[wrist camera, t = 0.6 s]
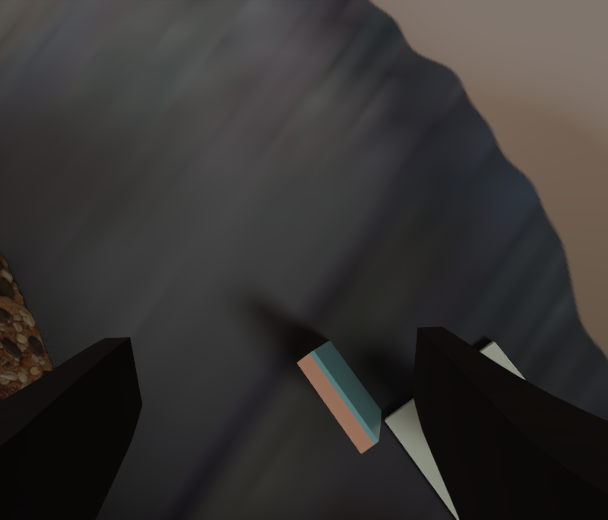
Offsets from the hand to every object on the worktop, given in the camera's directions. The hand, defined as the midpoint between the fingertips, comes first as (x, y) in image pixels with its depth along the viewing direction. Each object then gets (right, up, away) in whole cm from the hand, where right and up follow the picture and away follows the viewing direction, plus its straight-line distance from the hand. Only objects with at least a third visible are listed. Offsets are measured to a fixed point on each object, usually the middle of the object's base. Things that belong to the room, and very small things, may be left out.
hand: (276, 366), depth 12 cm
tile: (+4, -6, +21) cm, 22 cm away
